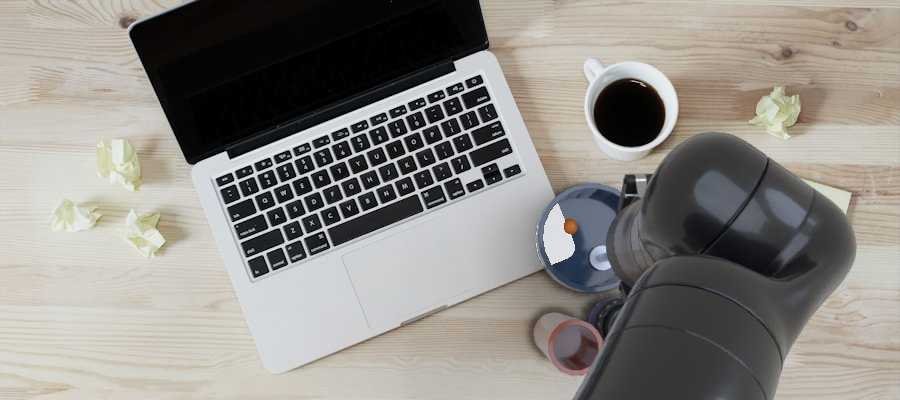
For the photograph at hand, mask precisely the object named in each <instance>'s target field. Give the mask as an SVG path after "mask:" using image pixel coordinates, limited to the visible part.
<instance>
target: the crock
mask: <svg viewBox="0 0 900 400" xmlns="http://www.w3.org/2000/svg"><path fill="white" fill-rule="evenodd" d="M533 327H534V328H533V339H534V342H535V345H536V346H537V348H538V349H539V350H540V351H541V352H542V353H543V354H544V356H545V357H546V358H547V359H548V360H549V361H550V363H552V364H553V365H554V366H555V367H556V368H557V369H558V371H559V372H561V373H564V374H566V375H569V376H580V377H581V376H584V375H585V376H586V375H587V373H588V371H589V369H590V367H591V365H592V363H593V361H594V359H595V358H596V356H597V354H598V352H599V350H600V348H601V346H602V344H603V340H602V338H601V335H600V333H599V331H598V330H597V329H596V328H595V327H594V326H593V325H592V324H590V323H588V322H586V320H582V319H580V318H576V317H574V316H569V315H566V314H565V313H560V312H548V313H546V314H544V315H542V316H541V317H540V318H539V319H537V321H536V323H535V325H534V326H533Z"/></svg>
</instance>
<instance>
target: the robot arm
mask: <svg viewBox="0 0 900 400" xmlns="http://www.w3.org/2000/svg"><path fill="white" fill-rule="evenodd" d="M620 192H621V194H620V199H619V203H618V208H617V211H616V217H615V218H614V219H613V221H612V223H611V225H610V227H609V229H608V232H607V237H606V253H607V258H608V261H609V263H610V266H611V267H612V269H613V271H614V272H615V274H616V275H617V276H618V277H619V278H620V279H621V280H622V281H620V285H619V287H618V291H619V295H620V296H621V297H620V298H622V300H623V303H624V304H623V306H622V308H621V310H620V312H619V314H618V316H617V317H616V319H615V321H614V323H613V325H612V327H611V329H610V331H609V333H608V334H607V336H606V338H605V340H604V342H603V344H602V346H601V348H600V350H599V352H598V354H597V356H596V358H595V359H594V361H593V363H592V365H591V367H590V369H589V371H588V373H587V374H585V377H584V379H583V380H582V382H581V383H580V386H579V387H578V388H577V390H576V392H575V393H574V395H573V397H572V399H571V400H774V399H775V397H776V394H777V393H776V392H777V389H778V385H779V381H780V379H781V378H780V377H781V374H782V371H783V367H784V363H785V360H786V359H787V356H788V355H789V353H790V351H791V349H792V347H793V345H794V344H795V343H796V341H797V339H798V338H799V337H800V335H801V333H802V331H803V330H804V329H805V327H806V325H807V324H808V323H809V321H810V320H811V318H812V317H813V315H814V314H815V313H816V312H817V311H818V310H819V309H820V308H821V307H822V305H823V304H824V303H825V302H826V301H827V300H828V298H829V297H830V296H832V294H833V293H834V292H835V291H836V290H837V289H838V288H839V287H840V285H842V283H843V281H844V280H845V279H846V277H847V275H848V274H849V273H850V272H851V269H853V268H852V267H853V266H854V263H855V261H856V257H857V249H858V246H857V238H856V233H855V230H854V228H853V225H852V223H851V221H850V219H849V217H848V216H847V214H846V213H845V212H844V211H843V209H841V207H840V206H839V205H837V203H835V202H834V201H833V200H832V199H830V198H829V197H827V196H826V195H825V194H823V193H821V192H820V191H819V190H817V189H816V188H815V187H813V186H812V185H810V184H808V183H807V182H806V181H804V180H803V179H802V178H800V177H799V176H797V175H796V174H794V173H793V172H791V171H790V170H788V169H787V168H786V167H784V166H783V165H781V164H780V163H779V162H777V161H776V160H774V159H772V158H771V156H768V155H767V154H765V153H764V151H761V150H760V149H758V148H757V147H756V146H754V145H753V144H751V143H750V142H748V141H747V140H744V139H743V138H741V137H739V136H736V135H735V134H731V133H726V132H719V131H706V132H700V133H697V134H694V135H692V136H690V137H688V138H686V139H684V140H683V141H681V142H680V143H678V144H677V145H676V146H675V147H674V148H672V149H671V150H670V151H669V153H668V154H666V156H665V157H664V158H663V159H662V160H661V161H660V163H659V164H658V166H657V167H656V168H655V170H654V172H653V173H626V174H624V177H623V178H622V186H621V190H620Z"/></svg>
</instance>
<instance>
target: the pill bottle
mask: <svg viewBox="0 0 900 400" xmlns="http://www.w3.org/2000/svg"><path fill="white" fill-rule="evenodd" d="M623 304H624V303H623V300H622V297H606V298H603V299H601V300H599V301H597V302H595V303H594V304H593V306H591V307H590V309H589V311H588V312H587V316H586V320H585V322H588V323H590V324H592V325H593V326H594V327H595V328H596V329H597V330H598V331H599V333H600V335H601V338H602V340H603V342H604V340H605V338H606V336H607V334H608V333H609V331H610V329H611V327H612V325H613V323H614V321H615V319H616V317H617V316H618V314H619V312H620V310H621V308H622V306H623Z"/></svg>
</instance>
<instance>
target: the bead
mask: <svg viewBox="0 0 900 400" xmlns="http://www.w3.org/2000/svg"><path fill="white" fill-rule="evenodd" d="M577 229H578V225H577V223H576V221H575V220H573V219H565V223H564V230H565V232H566V233H568V234H571V235H574V234H575V233H576V232H577Z"/></svg>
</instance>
